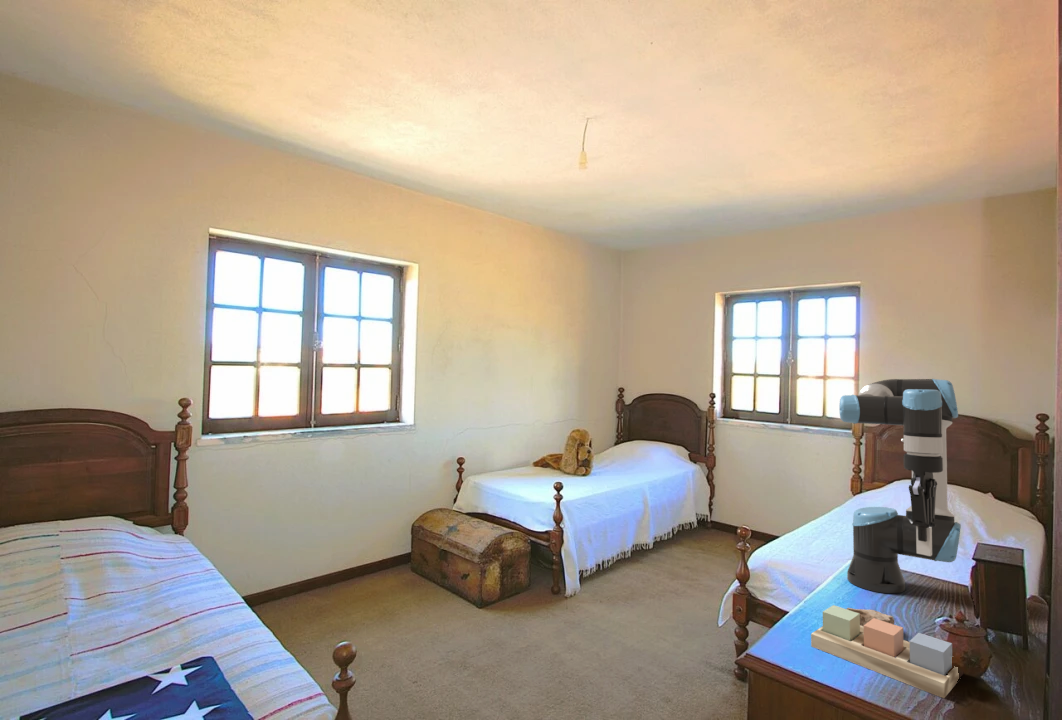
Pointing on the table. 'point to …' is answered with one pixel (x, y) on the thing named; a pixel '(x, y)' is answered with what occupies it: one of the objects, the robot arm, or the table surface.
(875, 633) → the terracotta block
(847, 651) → the socket board
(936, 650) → the slate block
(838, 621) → the sage block
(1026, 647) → the table surface
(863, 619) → the stone
